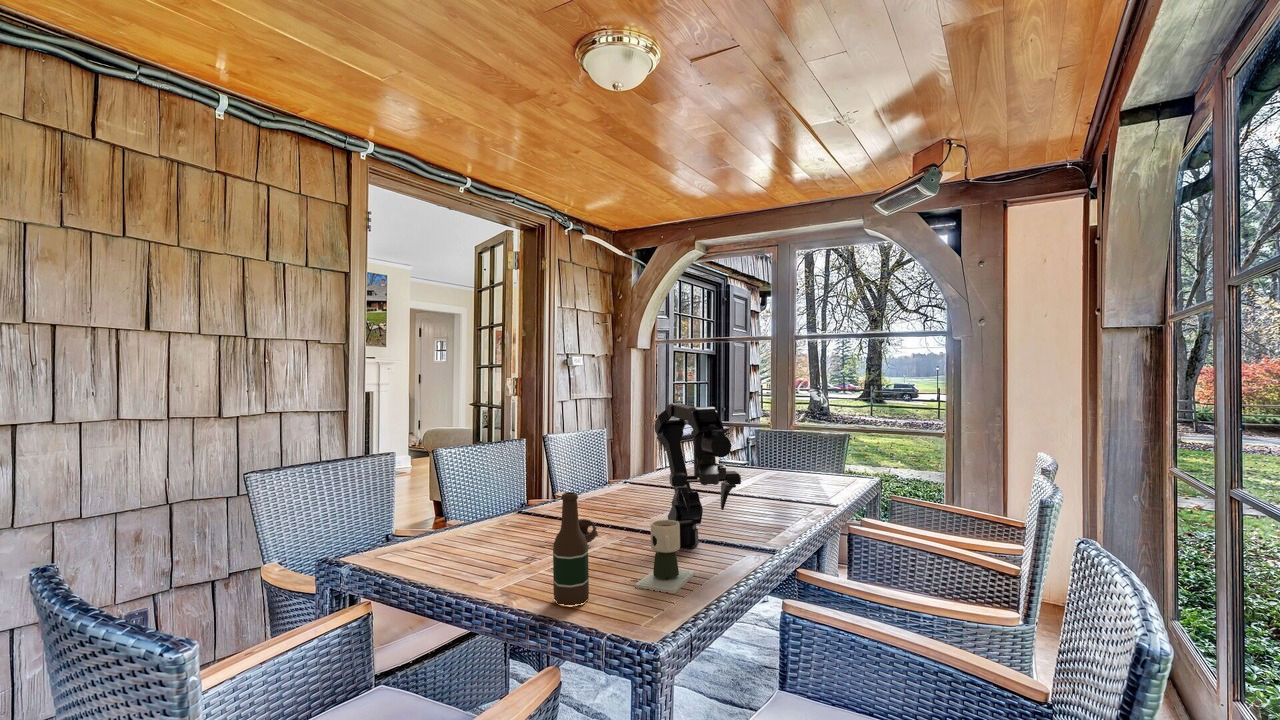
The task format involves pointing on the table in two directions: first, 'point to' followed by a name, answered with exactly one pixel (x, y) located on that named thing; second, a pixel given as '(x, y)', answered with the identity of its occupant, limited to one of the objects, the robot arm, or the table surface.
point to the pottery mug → (584, 527)
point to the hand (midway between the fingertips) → (705, 510)
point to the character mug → (665, 547)
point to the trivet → (665, 582)
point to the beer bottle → (570, 557)
